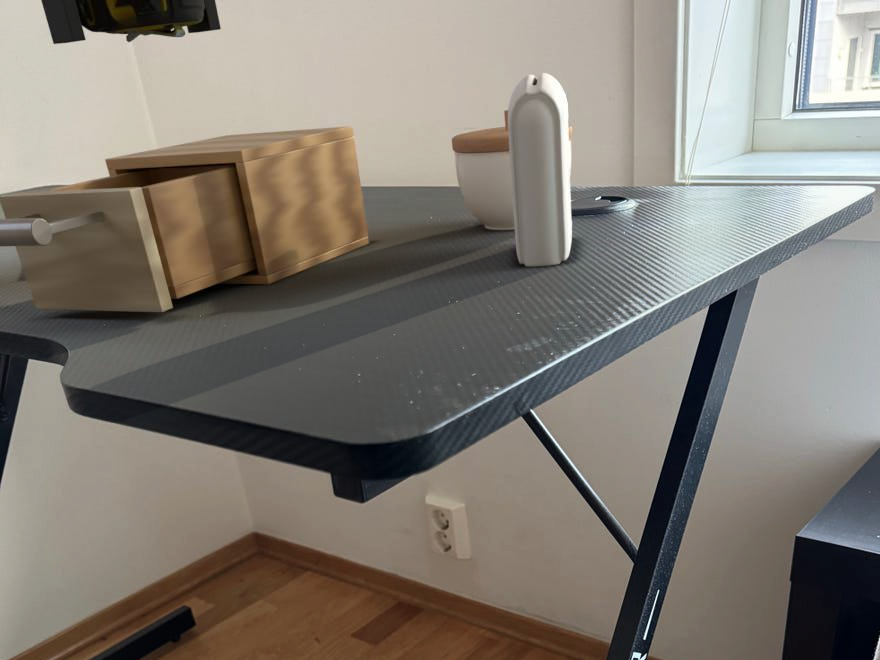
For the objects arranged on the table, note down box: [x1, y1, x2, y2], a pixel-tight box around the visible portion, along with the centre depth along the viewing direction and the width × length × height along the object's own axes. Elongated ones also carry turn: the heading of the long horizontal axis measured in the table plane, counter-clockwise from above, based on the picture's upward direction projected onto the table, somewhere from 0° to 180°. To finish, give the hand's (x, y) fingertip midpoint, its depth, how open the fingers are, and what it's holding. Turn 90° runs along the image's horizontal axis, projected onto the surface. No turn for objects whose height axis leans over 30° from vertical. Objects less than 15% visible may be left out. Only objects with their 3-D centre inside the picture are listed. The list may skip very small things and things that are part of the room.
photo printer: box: [507, 72, 573, 268], centre depth 70 cm, size 10×4×12 cm, turn 174°
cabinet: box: [104, 125, 370, 285], centre depth 79 cm, size 16×14×10 cm
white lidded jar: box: [451, 109, 573, 231], centre depth 84 cm, size 11×11×9 cm
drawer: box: [0, 163, 257, 313], centre depth 68 cm, size 21×12×8 cm, turn 155°
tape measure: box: [75, 0, 205, 43], centre depth 55 cm, size 7×7×4 cm
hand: (139, 36), depth 56 cm, fingers closed on tape measure, 8 cm apart
